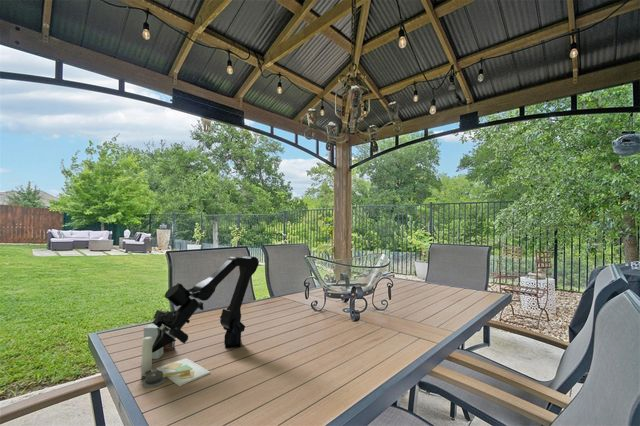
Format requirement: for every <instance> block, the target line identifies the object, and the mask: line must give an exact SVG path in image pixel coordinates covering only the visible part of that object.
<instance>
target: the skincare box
mask: <svg viewBox="0 0 640 426" xmlns="http://www.w3.org/2000/svg"><path fill="white" fill-rule="evenodd" d="M158 328H159V327H158ZM157 335H158V329H157V326H156V325H154V324H148V325H147V326H145V327H143V338H145V337H153V340H152V346H153V344H154V342H155V340H156V338H157ZM163 355H164V351H163V347H162V348H160V349H159V350H157V351H155V352H152V360H158V359H160V358H161V357H162V356H163Z"/></svg>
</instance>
